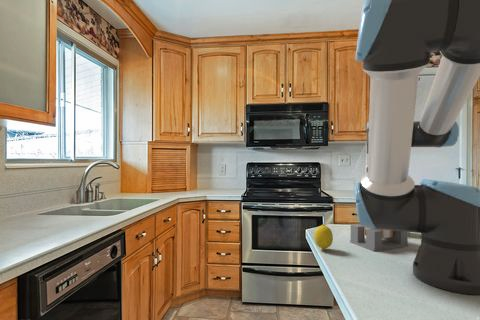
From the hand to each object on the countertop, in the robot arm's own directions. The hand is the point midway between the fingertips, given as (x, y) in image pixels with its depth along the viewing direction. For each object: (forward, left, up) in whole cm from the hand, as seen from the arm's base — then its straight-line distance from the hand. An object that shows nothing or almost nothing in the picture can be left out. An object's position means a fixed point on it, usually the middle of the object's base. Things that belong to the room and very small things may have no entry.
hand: (378, 235), depth 93 cm
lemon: (+2, +21, -3) cm, 22 cm away
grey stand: (0, 0, -3) cm, 3 cm away
